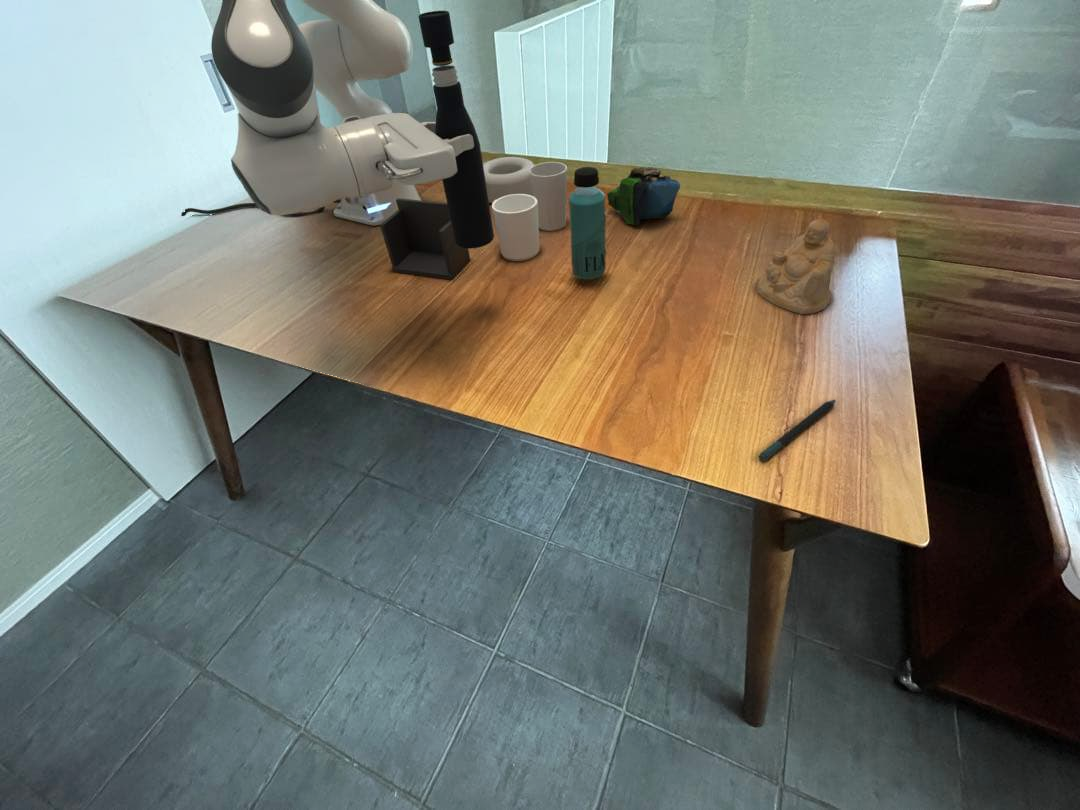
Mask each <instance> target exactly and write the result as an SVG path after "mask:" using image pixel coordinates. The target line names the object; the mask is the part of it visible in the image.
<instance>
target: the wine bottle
mask: <svg viewBox="0 0 1080 810" xmlns="http://www.w3.org/2000/svg"><path fill="white" fill-rule="evenodd" d="M418 20H419V26H420V30H421V31H420V32H421V37H422V41H423V47H424V48H427V49H430V55H431V60H432V61H431V63H432V65H433V66H434V67H433V68H432V70H431V71H432V73H431V75H432V77H433V79H432V81H433V83H434V84H433V86H432V89H433V94H434V99H435V106H436V115H435V122H436V125H435V134H436V135H437V136H438V137H440V138H441V139H443V140H444V139H449V140H450V139H453V138H455V137H457V135H458V134H463V133H468V134H470V135H472V137H473V141H474V147H473V148H472V149H469V150H465V151H463V152H462V153H460V154H459V155H457V156H456V157H455V159H456V165H457V173H456V174H454V175H453V176H451V177H449V178H445V179H441V180H442V185H443V190H444V193H445V199H446V203H447V204H448V209H449V214H450V219H451V223H452V228H453V233H454V238H455V242H456V244H457V245H458V246H460V247H462V248H468V249H477V248H479V249H480V248H482V247H484V246H487V245H489V244H491V242H493V240H494V238H495V233H494V227H493V219H492V213H491V207H490V203H489V200H488V194H487V187H486V180H485V174H484V167H483V164H484V161H483V155H482V147H481V144H480V140H479V137H478V134H477V131H476V128H475V125H474V123H473V120H472V119H471V116H470V114H469V112H468V110H467V108H466V106H465V102H464V95H463V89H462V84H461V82H460V81H459V80H458V79H459V77H458V75H457V73H458V70H457V69H456V65H453V64H452V63H453V58H452V53H451V48H450V47H451V45H454V43H455V38H454V33H453V27H452V22H451V20H452V19H451V15H450V12H449V10H435V11H434V10H433V11H427V12H424V13H420V14H419V15H418Z"/></svg>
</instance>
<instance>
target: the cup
mask: <svg viewBox="0 0 1080 810" xmlns="http://www.w3.org/2000/svg"><path fill="white" fill-rule="evenodd" d="M529 174H530V180H531V185H532V191H533V195H532V196H533V197H535V198H536V199H537V204H538V227H539V230H543V231H548V232H549V231H551V232H552V231H557V230H561V229H562V228H564V227H565V226H566V225H567V183H568V182H567V181H568V180H567V179H568V166H567V165H566V164H564V163H562V162H558V161H547V162H540V163H537V164H534V166H533V167H531V168H530V169H529Z"/></svg>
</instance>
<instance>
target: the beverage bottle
mask: <svg viewBox="0 0 1080 810" xmlns="http://www.w3.org/2000/svg"><path fill="white" fill-rule="evenodd" d="M599 184H600V178H599V170H598V169H597V168H596V167H593V166H584V167H579V168H577V169H576V170H575V171H574V178H573V185H574V186H575V187H578V188H576V189H575V190H574V191H572V192H571V193H570V195H569V196H568V204H569V222H570V249H571V250H570V253H571V257H570V258H571V269H572V274H573V275H574V276H575V277H576V278H578V279H581V280H594V279H598V278H600V277H601V276H603V275H604V273H605V270H606V266H607V265H606V264H607V262H606V256H607V250H606V245H607V237H606V226H607V224H606V223H607V219H606V218H607V217H606V215H607V214H606V194H605V193H604V192H603V191H602V189H600V188H598V187H597V185H599Z"/></svg>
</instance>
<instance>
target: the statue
mask: <svg viewBox="0 0 1080 810" xmlns="http://www.w3.org/2000/svg"><path fill="white" fill-rule="evenodd" d="M830 227H831V226H830V223H829V222H828V221H827V220H825V219H822V218H817V219H814V220H813V221H811V222H810V223H809V225H808V226H807V229H806V231H805V233H804V234H801V235H799V236H798V237H797V238H796V239H795V241H794V242H793V243H792V244H791V245H789V247H788V248H787V249H786V250H785V251H784V252H783V251H780V250H776V249H775V250H774V251H773V257H772V261H770V262H769V263H768V264H767V266H766V269H765V272H766V273H765V275H763V276H762V277H761V278H760V280H759V281H758V283H757V286H756V290H757V293H758V294H759V296H761V297H762V299H765V300H766V301H767V302H769V303H771V304H772V305H775V306H776V307H779V308H781V309H784V310H786V311H789V312H793V313H795V314H800V315H812V314H815V313H818V312H820V311H823V310H825V309H826V308H828V307H827V306H829V305H830V303H831V298H832V291H831V289H830V284H831V275H832V272H833V268H834V262H835V255H836V254H835V244H834V242H833V240H832V239H831V238H830V237H829V236H828V235H829V232H830V229H831V228H830Z"/></svg>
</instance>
